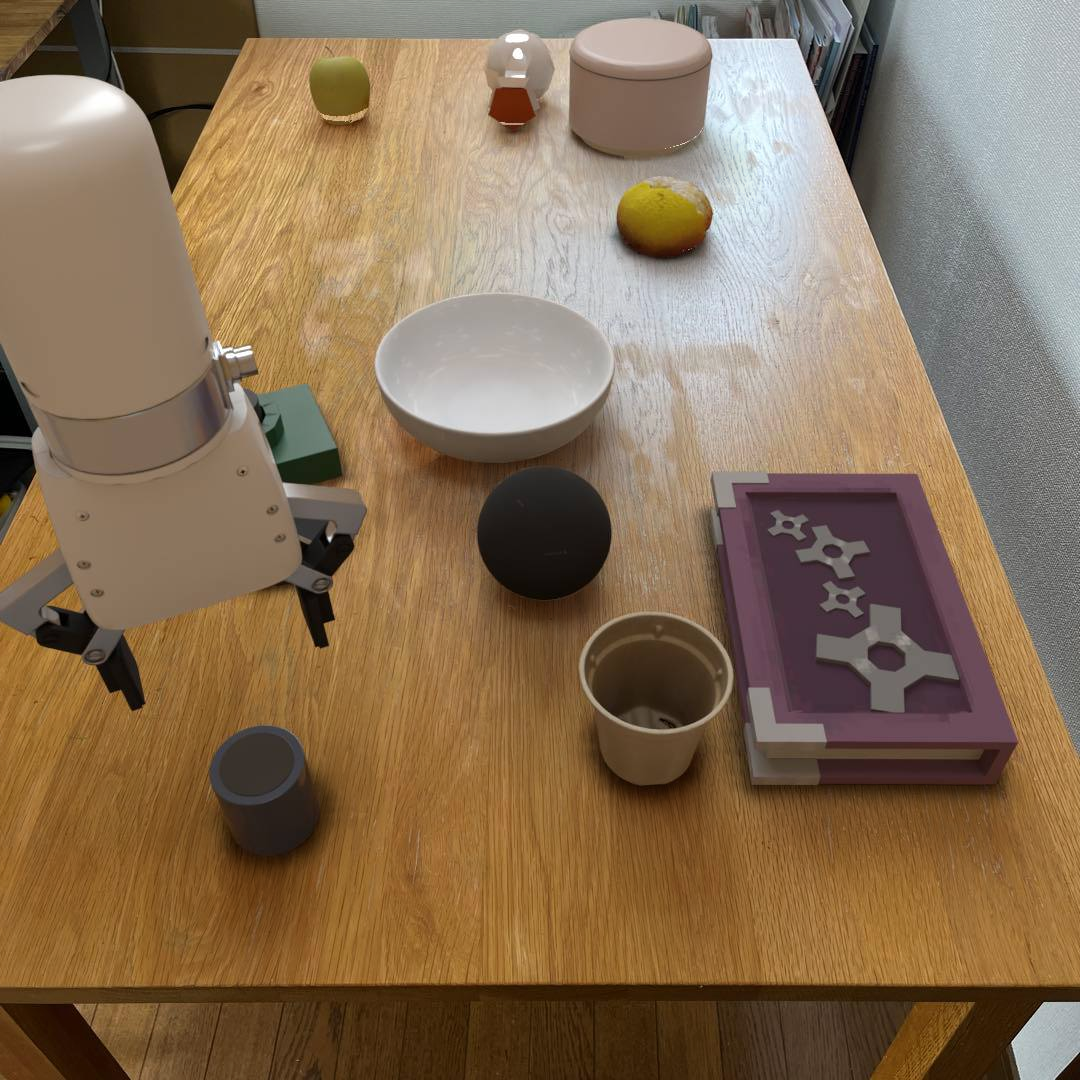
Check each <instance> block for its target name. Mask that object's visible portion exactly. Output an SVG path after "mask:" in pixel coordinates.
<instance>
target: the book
mask: <svg viewBox="0 0 1080 1080" xmlns="http://www.w3.org/2000/svg"><path fill="white" fill-rule="evenodd" d="M710 484H711V490H712V496H713V503H714V508H711V509H710V514H709V520H710V527H711V533H712V539H713V546H714V552H715V554H716V555H717V563H718V569H719V575H720V580H721V588H722V594H723V600H724V601H723V602H724V607H725V613H726V614H725V615H726V619H727V626H728V633H729V638H730V645H731V651H732V658H733V664H734V670H735V677H736V683H737V689H738V695H739V702H740V709H741V714H742V715H741V716H742V721H743V738H744V743H745V750H746V757H747V762H748V769H749V776H750V783H751V785H752V786H819V785H821V784H822V785H840V784H841V785H982V786H983V785H993V786H994V785H996V783H997V781H998V780H999V777H1000V776H1001V774H1002V772H1003V770H1004V769H1005V767H1006V765H1007V763H1008V762H1009V760H1010V758H1011V756H1012V755H1013V753H1014V752H1015V750H1016V748H1017V745H1018V744H1019V740H1018V738H1017V735H1016V732H1015V730H1014V727H1013V724H1012V721H1011V719H1010V716H1009V713H1008V711H1007V708H1006V706H1005V703H1004V701H1003V697H1002V694H1001V692H1000V689H999V686H998V684H997V681H996V679H995V676H994V674H993V672H992V669H991V666H990V663H989V661H988V658H987V655H986V652H985V650H984V646H983V644H982V642H981V639H980V637H979V634H978V631H977V629H976V626H975V623H974V621H973V618H972V615H971V613H970V610H969V607H968V605H967V602H966V599H965V597H964V594H963V591H962V588H961V587H960V584H959V580H958V578H957V576H956V573H955V570H954V568H953V565H952V563H951V559H950V557H949V554H948V551H947V550H946V549H947V548H946V546H945V544H944V541H943V538H942V536H941V532H940V531H939V528H938V525H937V523H936V519H935V517H934V515H933V512H932V509H931V507H930V504H929V501H928V499H927V496H926V493H925V491H924V488H923V485H922V483H921V481H920V477H919V475H918V473H817V472H815V473H811V472H810V473H808V472H806V473H804V472H803V473H795V472H793V473H792V472H790V473H789V472H788V473H786V472H785V473H781V472H779V473H778V472H777V473H774V472H769V473H768V472H767V470H766V471H764V470H763V471H761V470H760V471H755V470H754V471H753V470H752V471H751V470H750V471H745V470H744V471H741V470H731V471H730V470H727V471H726V470H719V471H718V470H716V471H715V470H712V471H711V478H710Z"/></svg>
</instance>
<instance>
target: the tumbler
mask: <svg viewBox="0 0 1080 1080" xmlns="http://www.w3.org/2000/svg"><path fill="white" fill-rule="evenodd" d="M306 757H307V756H306V752H305V750H304V747H303V744H302V743H301V741H300V739H299V738H298V737H297V736H296V735H295V734H294V733H293V732H291V731H290V730H288V729H286V728H283V727H280V726H277V725H271V724H270V725H269V724H264V725H263V724H262V725H261V724H260V725H254V726H250V727H246V728H244V729H241V730H239V731H237V732H236V733H234V734H232V735H231V736H229V737H228V738H227V739H225V741H223V743H221V745H219V747H218V748H217V749H216V751H215V752H214V754H213V755H212V759H211V760H210V761H211V762H210V765H209V771H208V773H209V774H208V776H209V781H210V784H211V787H212V790H213V792H214V795H215V797H216V800H217V802H218V804H219V807H220V808H221V812H222V814H223V816H224V818H225V822H226V824H227V826H228V828H229V830H230V833H231V835H232V838H233V840H234V841H235V843H236V844H237V845H238V846H239V847H240V848H241V849H243V850H244V851H245V852H247V853H250V854H252V855H255V856H261V857H274V856H279V855H283V854H286V853H288V852H292V851H293V850H294V849H296V848H298V847H299V846H301V845H302V844H303V843H304V842H305V841H306V840H308V838H310V836H311V835H312V833H313V832H314V830H315V828H316V826H317V824H318V821H319V818H320V811H321V810H320V801H319V798H318V794H317V791H316V788H315V785H314V781H313V777H312V773H311V771H310V766H309V764H308V760H307V758H306Z"/></svg>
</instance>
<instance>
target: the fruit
mask: <svg viewBox="0 0 1080 1080" xmlns="http://www.w3.org/2000/svg"><path fill="white" fill-rule="evenodd" d="M616 209H617V210H616V226H617V228H618V229H617V230H618V233H619V235H620V237H622V240H623V242H624V244H626V245H627V247H628V248H629V249H630V250H632V251H633V252H635V253H637V254H639V255H643V256H648V257H653V258H659V259H660V258H663V259H667V258H676V257H680V256H682V255H686V254H688V253H689V254H690V253H691V252H692V251H693V250H695V248H696V247H697V246H699V245H700V244H701V242H703V241H704V240H705V238H706V237H707V234H706V233H707V231H709V229H710V228H711V225H712V221H713V218H714V217H713V216H714V210H713V207H712V204H711V202H710V199H709V198H708V196H707V195H706V193H705V192H703V191H702V190H701V189H700V188H699V187H698V185H696V184H695V183H693V182H690V181H689V182H688V181H686V180H679V179H677V178H675V177H671V176H669V175H667V176H661V175H657V176H651V177H647V178H645V179H643V180H641V181H640V183H636V184H635V185H633V186H631V187H630V188H629V189H628V190H626V191H625V192H624V193H623V194H622V197H621V198H620V200H619V202H618V205H617V208H616ZM695 246H696V247H695ZM691 248H692V249H691ZM688 249H690V250H688ZM683 250H684V251H683Z"/></svg>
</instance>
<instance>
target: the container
mask: <svg viewBox="0 0 1080 1080" xmlns="http://www.w3.org/2000/svg"><path fill="white" fill-rule="evenodd" d="M568 53H569V84H568V85H569V87H568V88H569V91H568V95H569V97H568V124H569V127H570V128H571V130H572V131H573V132H574V133H575V135H577V136H579V137H580V138H581V140H583V142H584V143H585V144H587V146H589V147H592V148H593V149H594V150H597V151H600V152H603V153H606V154H610V155H613V156H619V157H631V158H649V157H657V156H663V155H667V154H671V153H674V152H676V151H679V150H680V149H683V148H684V147H686V146H687V145H689V143H690V141H689V140H691V139H693V138H694V137H695V136H697V135H698V134H699V133H700V131H701V130H702V128H703V127H704V128H705V123H706V114H707V104H708V96H709V87H710V77H711V68H712V60H713V49H712V46H711V43H710V41H709V40H708V39H707V37H706V36H705V35H704V34H702V33H701V32H700V31H698V30H696V29H694V28H693V27H691V26H687V25H685V24H682V23H679V22H676V21H670V20H666V19H665V20H664V19H658V18H649V17H648V18H646V17H640V18H639V17H632V18H631V17H629V18H617V19H612V20H607V21H602V22H599V23H596V24H593V25H591V26H588V27H586V28H584V29H583V30H581V31H580V32H578V34H576V35H575V37H574V38H573V40H572V42H571V43H570V48H569V51H568ZM704 128H703V129H704ZM700 134H701V133H700ZM700 134H699V135H700ZM699 135H698V136H699ZM698 136H697V137H698ZM694 139H695V138H694ZM694 139H693V140H694ZM687 141H689V142H687ZM691 141H692V140H691ZM685 142H687V143H685ZM682 143H685V144H682ZM680 144H682V145H680ZM676 145H679V146H676ZM673 146H675V147H673ZM670 147H671V148H670ZM665 148H666V149H665Z"/></svg>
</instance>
